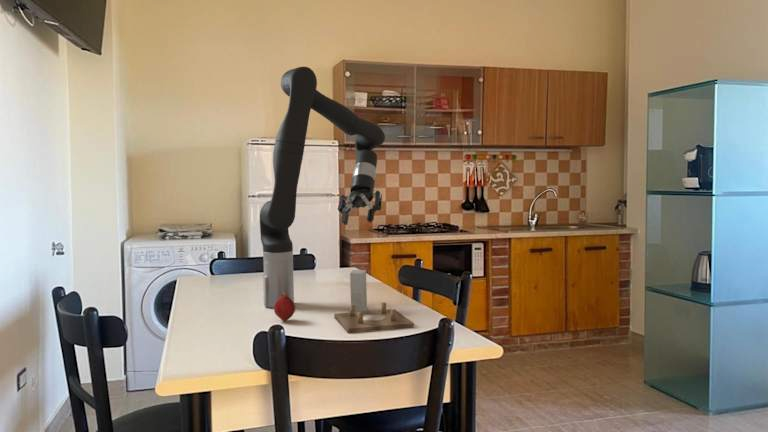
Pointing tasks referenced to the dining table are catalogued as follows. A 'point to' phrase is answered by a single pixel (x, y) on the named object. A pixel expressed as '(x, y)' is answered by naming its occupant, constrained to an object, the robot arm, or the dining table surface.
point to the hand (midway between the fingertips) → (357, 222)
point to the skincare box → (358, 290)
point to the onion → (284, 307)
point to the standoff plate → (372, 320)
